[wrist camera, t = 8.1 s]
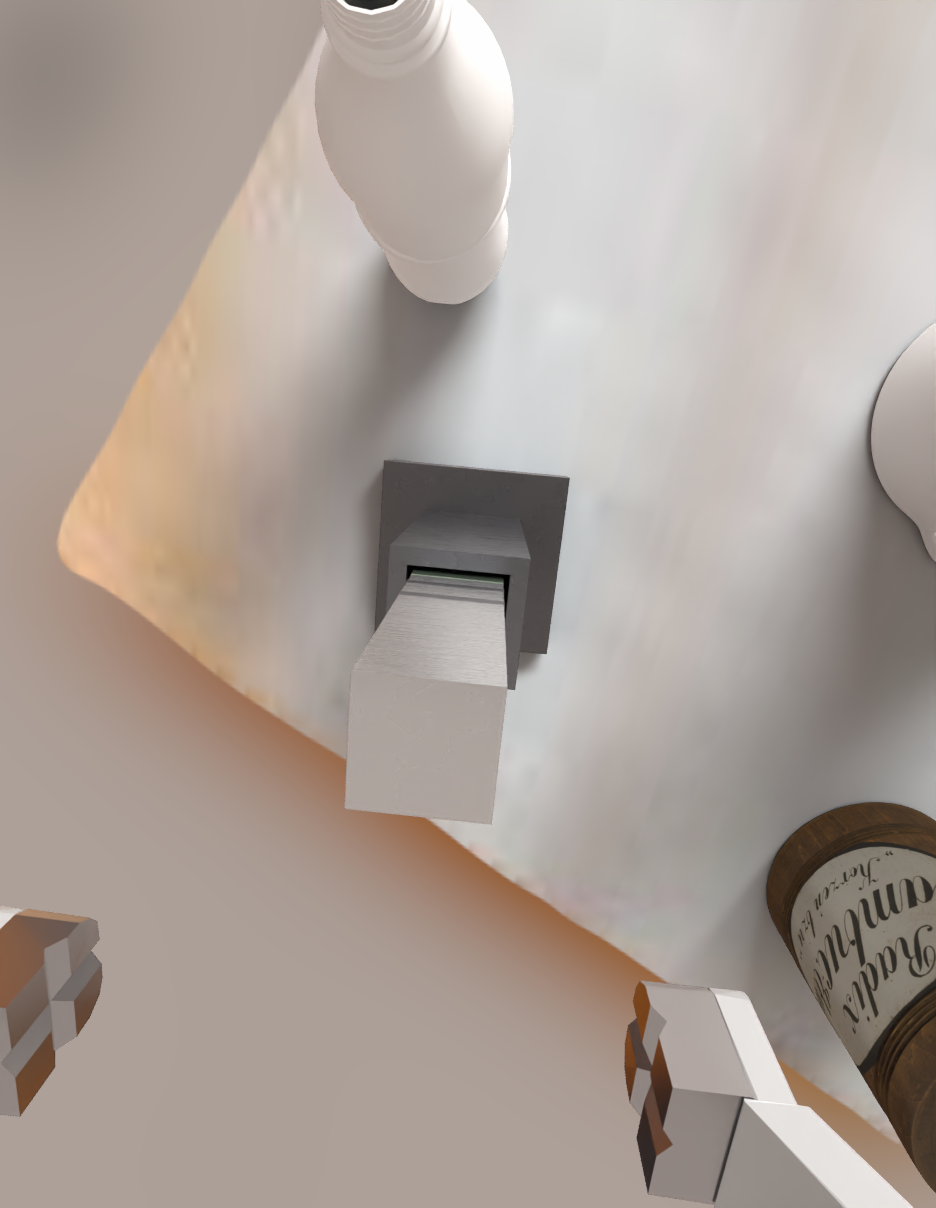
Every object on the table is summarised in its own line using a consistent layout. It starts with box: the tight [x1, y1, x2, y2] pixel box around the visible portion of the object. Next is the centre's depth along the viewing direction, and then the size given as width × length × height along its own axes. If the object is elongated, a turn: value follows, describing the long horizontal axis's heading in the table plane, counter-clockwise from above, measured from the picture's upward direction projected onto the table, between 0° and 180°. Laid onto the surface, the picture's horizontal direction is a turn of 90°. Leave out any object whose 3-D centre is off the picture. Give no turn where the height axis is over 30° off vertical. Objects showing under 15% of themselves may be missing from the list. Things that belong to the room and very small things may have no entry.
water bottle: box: [315, 0, 514, 304], centre depth 27 cm, size 7×7×25 cm
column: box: [345, 566, 507, 825], centre depth 26 cm, size 4×4×20 cm
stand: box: [375, 460, 570, 690], centre depth 36 cm, size 12×12×17 cm
